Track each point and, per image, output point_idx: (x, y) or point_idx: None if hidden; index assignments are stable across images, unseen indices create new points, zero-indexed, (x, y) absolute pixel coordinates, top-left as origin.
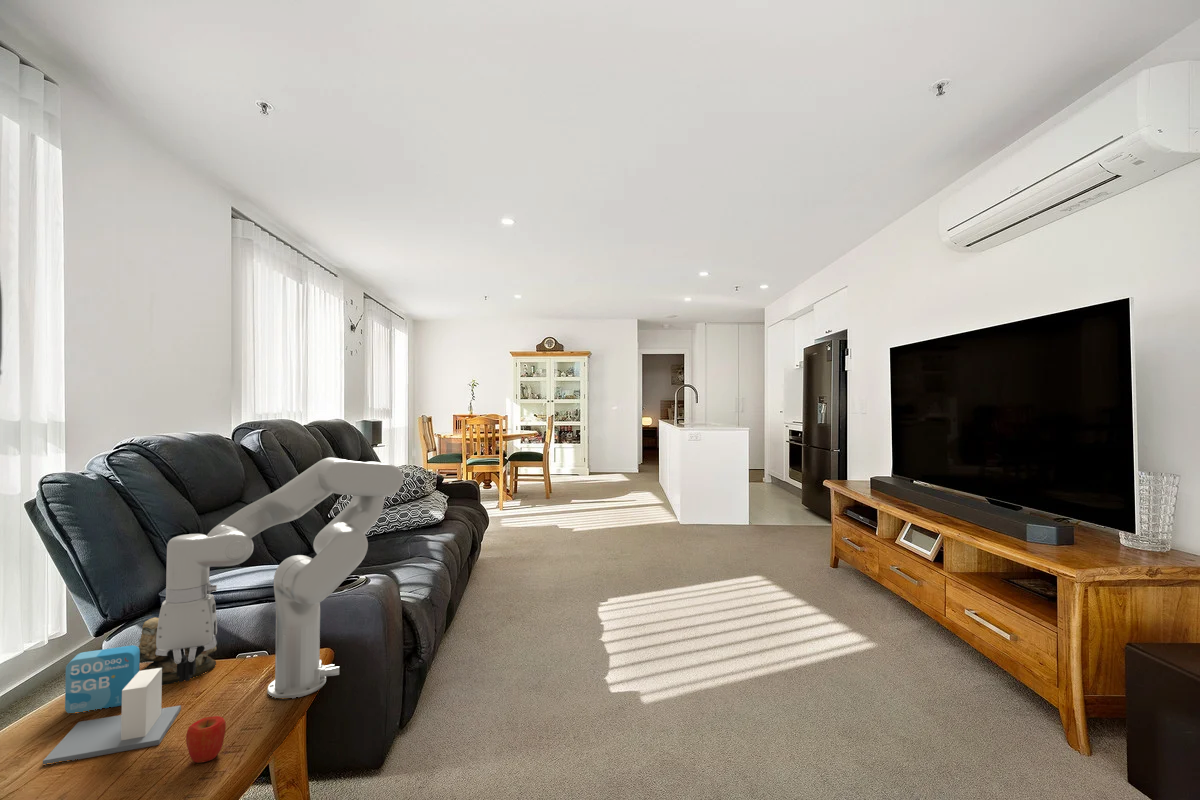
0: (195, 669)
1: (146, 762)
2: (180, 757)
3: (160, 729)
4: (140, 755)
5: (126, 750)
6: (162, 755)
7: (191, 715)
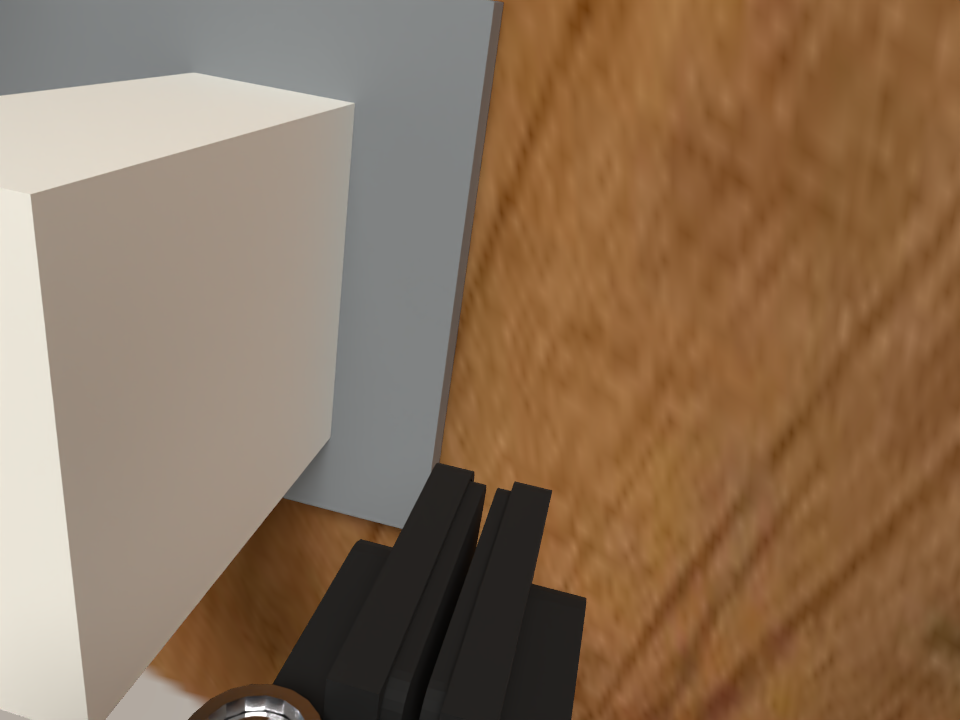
0: (583, 613)
1: None
2: None
3: (404, 398)
4: None
5: None
6: None
7: (599, 186)
